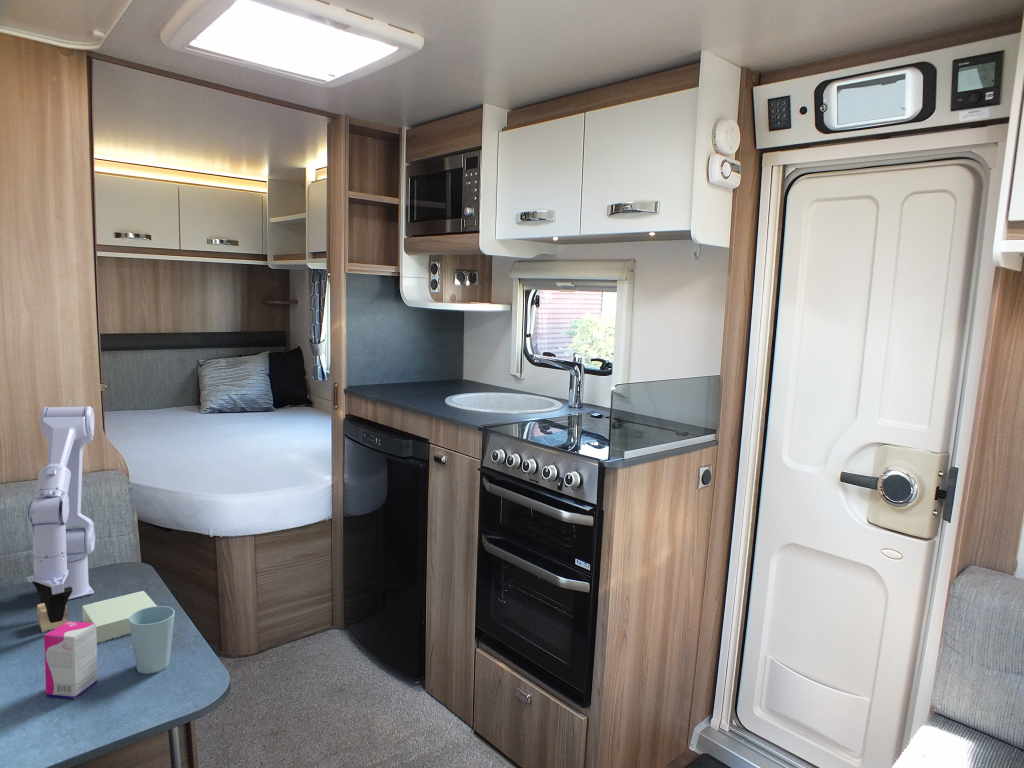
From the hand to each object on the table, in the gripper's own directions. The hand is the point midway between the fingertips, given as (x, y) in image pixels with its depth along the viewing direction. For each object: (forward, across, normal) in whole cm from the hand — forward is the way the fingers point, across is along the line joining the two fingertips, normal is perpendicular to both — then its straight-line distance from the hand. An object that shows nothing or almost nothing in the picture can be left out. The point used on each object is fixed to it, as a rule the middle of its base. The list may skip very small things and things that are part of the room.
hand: (52, 614), depth 141 cm
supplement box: (+3, +29, -2) cm, 29 cm away
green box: (+3, +8, +11) cm, 14 cm away
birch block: (+2, 0, 0) cm, 2 cm away
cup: (+3, +30, +11) cm, 32 cm away
